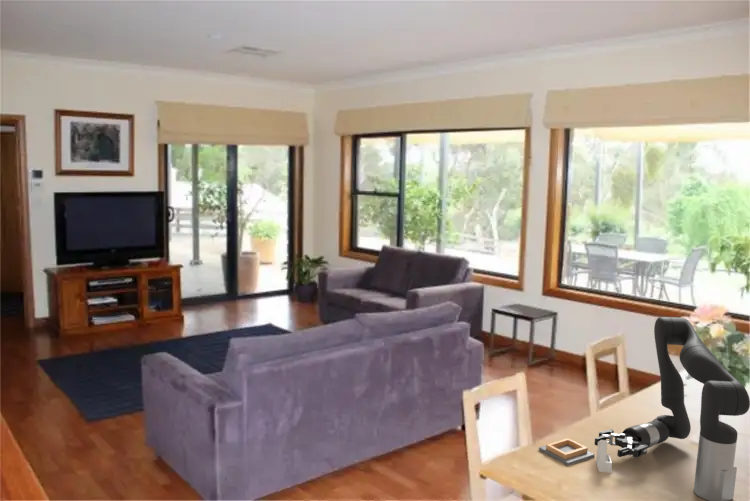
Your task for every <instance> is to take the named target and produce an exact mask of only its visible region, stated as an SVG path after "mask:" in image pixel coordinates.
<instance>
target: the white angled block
mask: <svg viewBox="0 0 750 501" xmlns="http://www.w3.org/2000/svg"><path fill="white" fill-rule="evenodd" d="M607 441H609V439H606V440H600V441H599V442H598V446H597V448H596V459H595V460H596V462H595V463H596V466H597V471H598V472H602V473H610V474H611V473H612V467H613V462H612V459H611V455H610V454H609V453H607V451H608V444H607Z"/></svg>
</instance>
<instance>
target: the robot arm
mask: <svg viewBox="0 0 750 501" xmlns="http://www.w3.org/2000/svg"><path fill="white" fill-rule="evenodd" d="M653 333H654V334H653V335H654V341H655V342H654V343H655V350H656V355H657V356H656V357H657V363H658V369H659V375H660V403H661V405H662V407H664V408H666V409H668V410H670V411H671V413H672V415H668V414H663V415H661V414H660V415H657V416H656V417H655V418H654V419H653V420H652V421H649V422H645V423H639V424H636V425H633V426H628V427H626V428H625V429H624V430H623V431H622V432H618V433H616V432H615V431H614V429H606V430H601V431H599V432H598V437H595V438H594V445H595V446H597V447H598V442H599V441H600V440H608V441H607V445H608V444H609V445H610V446H616V447H617V446H618V447H620V449H619V448H618V450H617V457H619V458H621V457H625V456H633V458H634V459H635V458H640V457H642V456H644V455H646V454H648V449H649V448H652V447H654V446H656V445H659V444H662V443H665V441H667V440H668V439H669V438H673V439H680V440H686V439H687V438H688V437H689V435H690V434H691V428H692V427H691V421H690V418H689V415H688V410H687V409H686V405H685V386H684V384H683V382H684V380H683V378H682V376H681V374H680V373H679V372H680V371H679V370H678V369H677V368H676V366H675V364H674V363H673V361H672V358H671V357H670V353H669V348H668V345H672V346H673V345H675V346H682V348H681V350H680V352H679V362H680V364H681V366H682V367H683V368H684V370H685V371H686V373H687V374H688V376H690V377H691V378H692V379H694V380H695V381H697V382H699V383H701V384H703V386H702V389H701V398H700V400H701V401H700V418H699V424H700V425H699V426H700V428H699V430H700V431H699V437H698V438H699V440H698V447H697V454H696V456H697V457H696V465H695V473H694V474H695V475H694V482H693V492H694V493H695V495H697V496H698V497H699V498H700V499H701V498H702V499H703V500H706V501H731V499H732V500H734V495H735V487H736V479H737V472H738V468H737V466H735V460H736V459H735V458H736V451H737V450H736V449H737V441H738V431H737V429H736V428H734V427H733V426H732V425H730V424H728V423H726V422H723V421H721V420H720V416H731V417H736V416H743V415H745V414H746V413H748V411H749V409H750V395H749V393H748V391H747V389H746V387H745V386H744V385H743V384H742V382H740V381H739V380H738V379H737V378H736V377H735V376H733V374H732V373H730V372H729V371H728V370H727V369H726V368H725V367H724V366H723V365H722V364H721V362H720V361H719V360H718V359H717V358H716V356H715V355H714V353H713V352H712V351H711V350H710V349H709V347H707V346H706V344H705V343H704V341H703V340H702V339H701V338H700V337H699V335H698V334H697V332H696V330H695V328H694V326H693V325H692V324H691V322H690V321H689V320H688V319H687V318H684V317H673V316H659V317H657V318H656V320H655V322H654V330H653Z"/></svg>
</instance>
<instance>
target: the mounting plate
mask: <svg viewBox="0 0 750 501" xmlns="http://www.w3.org/2000/svg"><path fill="white" fill-rule="evenodd" d="M588 449H589V448H588V447H587V446H585V445H584V444H581V443H579V442H577V441H575V440H573V439H570V438H569V437H568V438H563V439H561V440H556V441H553V442H550V443H547V444H545V445H542V446H538V451H540V452H542V453H544V454H545V455H547V456H549V457H551V458H553V459H554V460H556V461H558V462H560V463H562V464H564V465H565V466H567V467H568V466H571V465H575V464H578V463H580V462H583V461H587V460H590V459H593V458H595V453H593V452H592V451H589V450H588Z"/></svg>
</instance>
